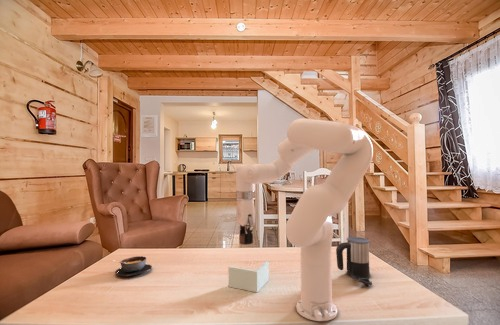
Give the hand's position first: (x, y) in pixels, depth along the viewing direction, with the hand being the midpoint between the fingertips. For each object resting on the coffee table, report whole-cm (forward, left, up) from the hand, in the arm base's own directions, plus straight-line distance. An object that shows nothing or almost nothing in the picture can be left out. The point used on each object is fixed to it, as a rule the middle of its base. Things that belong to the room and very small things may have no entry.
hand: (246, 240), depth 105 cm
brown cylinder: (0, 0, -1) cm, 1 cm away
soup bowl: (+11, +51, -17) cm, 55 cm away
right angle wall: (0, -1, -17) cm, 17 cm away
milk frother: (+4, -46, -17) cm, 49 cm away
